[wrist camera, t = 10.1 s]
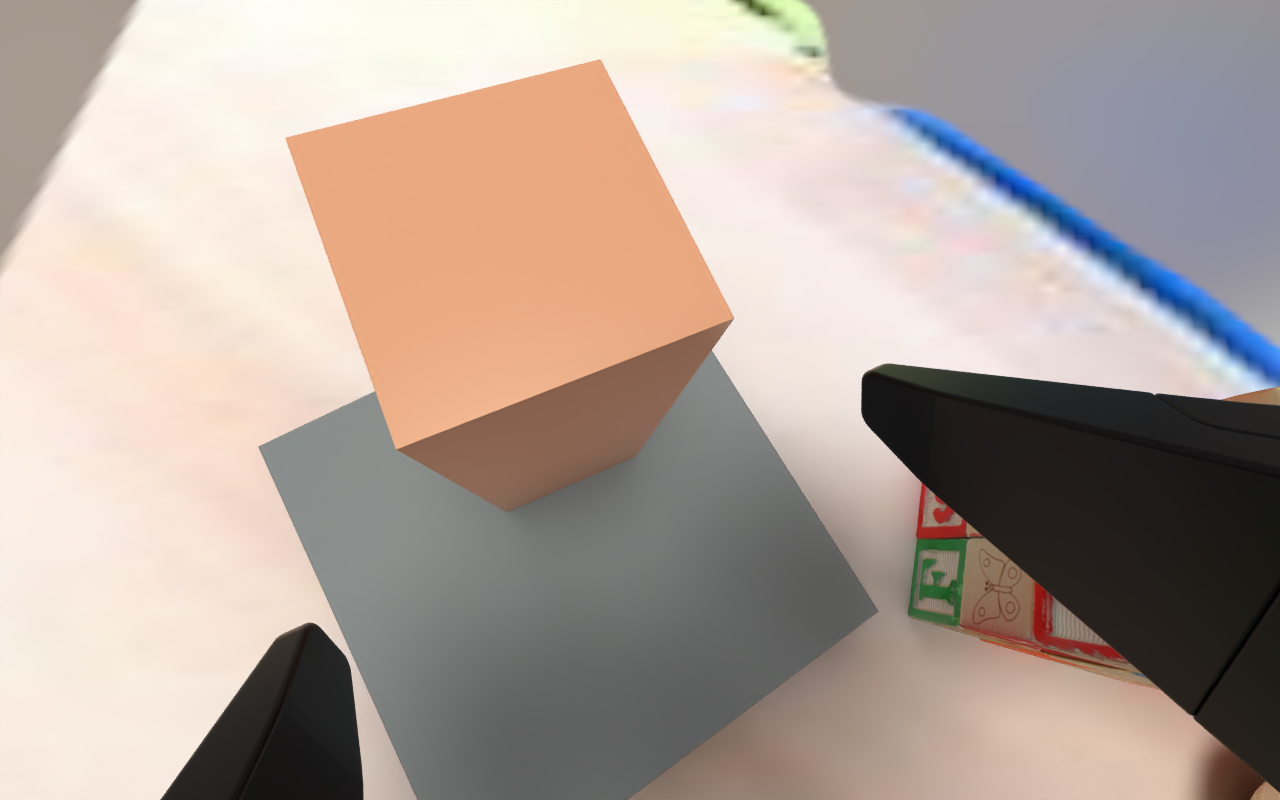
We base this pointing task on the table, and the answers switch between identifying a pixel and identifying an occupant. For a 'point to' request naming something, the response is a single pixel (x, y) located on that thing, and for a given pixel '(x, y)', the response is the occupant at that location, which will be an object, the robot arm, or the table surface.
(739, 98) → the table surface
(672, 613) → the slate board
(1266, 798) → the baseball
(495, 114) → the tall peach square pillar
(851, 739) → the table surface
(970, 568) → the stack of blocks
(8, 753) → the table surface
